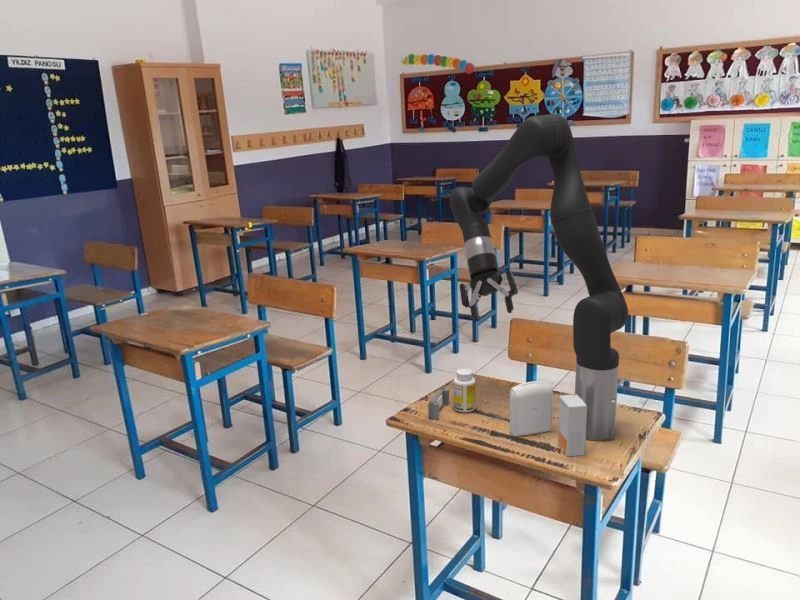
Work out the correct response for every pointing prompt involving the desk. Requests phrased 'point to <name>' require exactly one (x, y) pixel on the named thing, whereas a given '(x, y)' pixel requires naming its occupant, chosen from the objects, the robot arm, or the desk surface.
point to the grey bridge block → (438, 403)
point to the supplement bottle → (464, 391)
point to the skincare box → (572, 425)
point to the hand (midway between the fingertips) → (493, 316)
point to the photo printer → (531, 408)
